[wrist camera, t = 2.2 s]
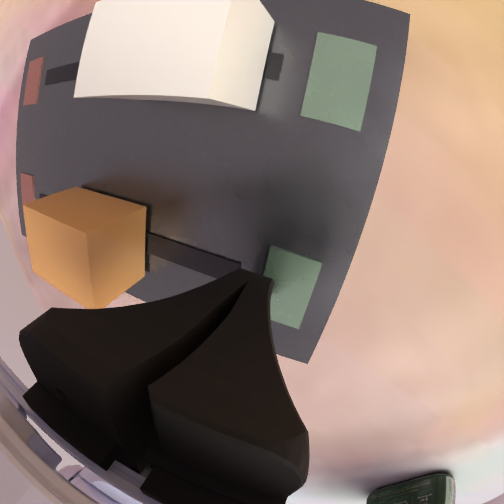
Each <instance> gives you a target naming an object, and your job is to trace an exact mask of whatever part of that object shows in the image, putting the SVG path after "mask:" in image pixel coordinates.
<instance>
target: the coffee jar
mask: <svg viewBox="0 0 504 504" xmlns="http://www.w3.org/2000/svg"><path fill="white" fill-rule="evenodd" d="M366 504H455V479H454V478H453V476H452V475H450V474H441V473H436V474H432V475H428V476H424V477H420V478H416V479H413V480H410V481H406V482H402V483H399V484H395V485H392V486H388V487H385V488H381V489H378V490H376V491H374V492H373V493H371V494H370V495H369V496H368V498H367V503H366Z"/></svg>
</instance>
